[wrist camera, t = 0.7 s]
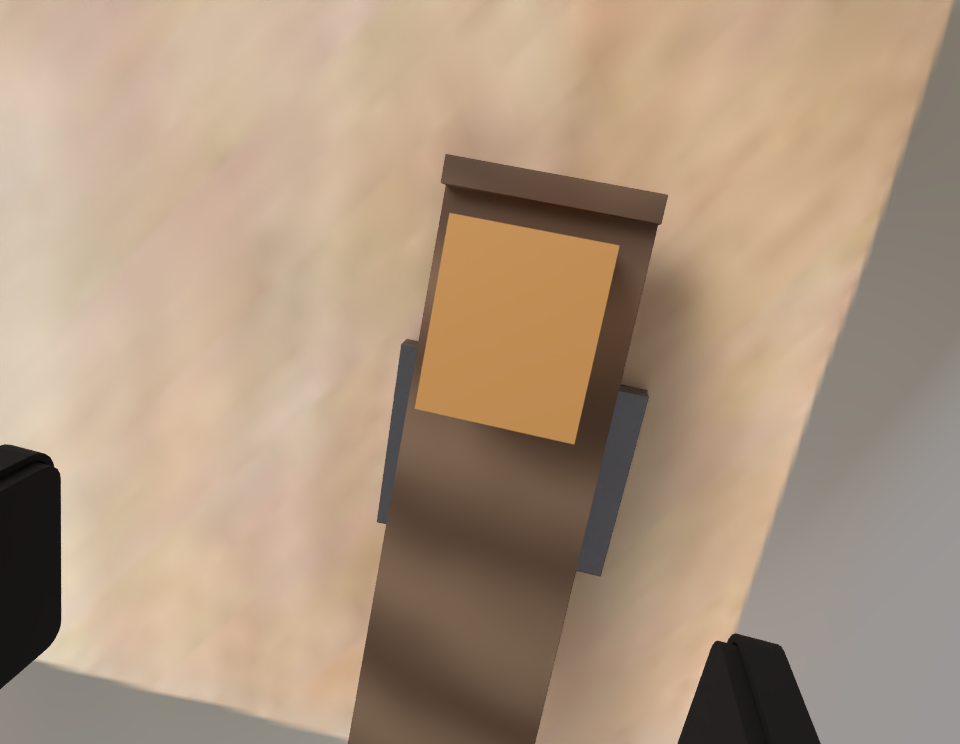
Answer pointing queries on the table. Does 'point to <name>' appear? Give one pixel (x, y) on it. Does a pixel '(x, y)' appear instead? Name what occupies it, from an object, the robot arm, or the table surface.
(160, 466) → the table surface
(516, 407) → the block
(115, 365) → the table surface
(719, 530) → the table surface
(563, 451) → the beam
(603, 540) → the stand
